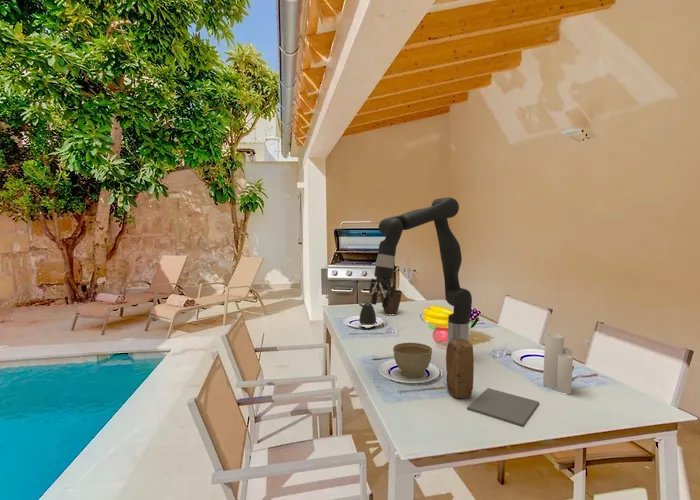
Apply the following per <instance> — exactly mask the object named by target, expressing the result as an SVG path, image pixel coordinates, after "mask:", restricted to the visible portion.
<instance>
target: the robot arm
mask: <svg viewBox="0 0 700 500" xmlns="http://www.w3.org/2000/svg"><path fill="white" fill-rule="evenodd" d="M459 209H460V204H459V202H458V200H456V198H455V197H442V198H441V197H440V198H436V199H434V200H433V201H432V203H431V206H428V207H423V208H418V209H415V210H414V209H413V210H411V211H408V212H405V213H403V214H402V213H401V214H399V215H395V216H394V215H393V216H390V217H387V218H384V219H382V220H381V221H380V222H379V224H378V230H379V232H380V233H381V235H384V236H385V237H384V240H381V241H380V242H379V244H378V251H377V257H376V260H375V269H374V274H373V275H374V277H375V278H371V279H370V280H371V281H370V286H369V292H368V293H369V294H371V301H370V303H371V304H372V305H377V301H378V295H379V294H380V292H382V293H383V296H384V298H383V304H382V303H381V307H382V308H383V307H384V308H387V307H388V303H389V298H391V297H393V293H394V290H395V282H393V281H391V280H393V276H394V271H395V263H396V252H397V246H398V244H399V241H400V239H401V237H402V234H403V231H407V230H411V229H414V228H416V227H419V226H422V225H424V224H427V223H430V222H433V223H434V227H435V230H436V231H435V232H436V234H437V236H436V237H437V241H438V247H439V253H440V260H441V264H442V272H443V277H444V296H445V300H446V303H448V304H449V305H450V306H452V307H453V313H451V314H449V315H448V319H447V320H448V322H447V324H448V325H447V344H448V343H449V342H450V341H451V340H454V339H465V340H467V341H468V342H469V330H470V329H469V328H470V327H469V326H470V325H469V324H470V318H471V315H472V305H473V304H472V303H473V298H472V297H473V296H472V294H471V291H470V290H468V289H466V288H463V287H461V285H460V281H459V280H460V279H459V271H460V268H461V265H462V262H463V261H462V260H463V259H462V252H461V250H462V249H461V245H460V243H459V241H458V239H457V238H456V236H455V235H454V234H453V232H452V231H451V228H450V224H449V222H448V221H449V220H448V219H451V218H454V217H455V216H457V214H458V213H459V211H460V210H459ZM390 291H391V294H390ZM386 294H387V295H386Z"/></svg>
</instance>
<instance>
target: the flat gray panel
mask: <svg viewBox="0 0 700 500" xmlns="http://www.w3.org/2000/svg"><path fill="white" fill-rule="evenodd" d="M539 405H540V402H539V401H538V400H534V399H531V398H530V399H529V398H527V397H524V396H519V395H516V394H512V393H508V392H504V391H500V390H497V389H493V388H490V387H488V388H486V389H485V390H483V392H482V393H480V395H478V396H477V397H476V398H475V399H474V400H473V401H472V402H471V403H470V404H469V405H468V406H466V410H467V411H472V412H474V413H477V414H481V415H484V416H487V417H491V418H493V419H497V420H499V421H502V422H507V423H509V424H513V425H515V426H518V427H521V428H524V426H525V424H526V423H527V422H528V420H529V419H530V417H531V416H532V415H533V413H534V411H536V409H537V408H536V407H538V406H539ZM531 414H532V415H531ZM526 421H527V422H526Z"/></svg>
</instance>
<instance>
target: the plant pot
mask: <svg viewBox="0 0 700 500" xmlns="http://www.w3.org/2000/svg"><path fill="white" fill-rule="evenodd" d="M402 293H403V291H402V290H399V289H398V290H397V289H394V293H393V297H391V298H389V303H388V307H387V308H384V307H382V308H383V311H384V314H385V313H386V314H396V315H397V314H398V311H399V307H400V303H401V299H402V295H403V294H402ZM379 294H380V295H379V296H380V301H381V305H382V304H383V298H384V296H383V293H382V292H379ZM390 294H391V291H390ZM386 295H387V294H386ZM386 314H385V315H386Z"/></svg>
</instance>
